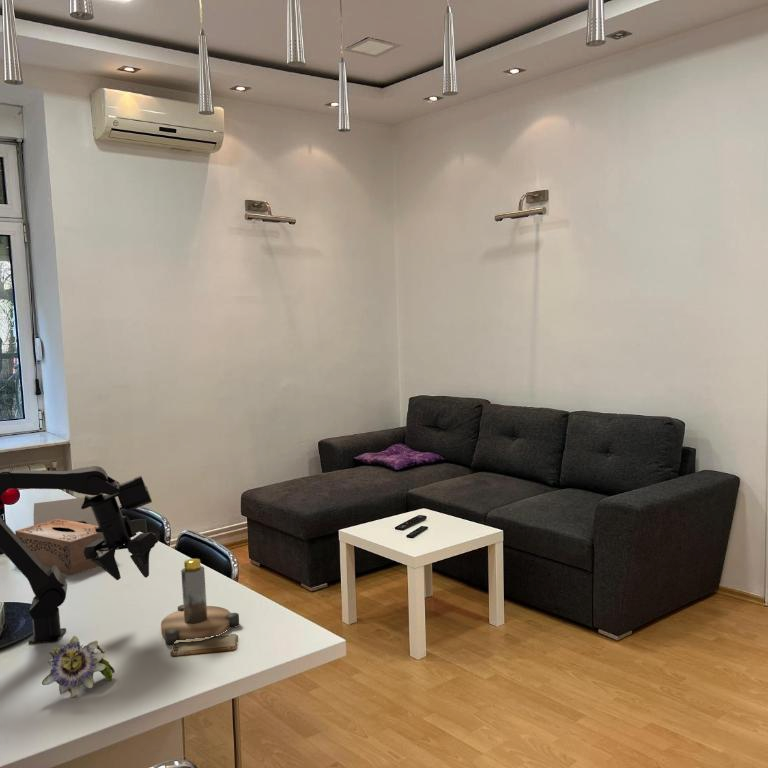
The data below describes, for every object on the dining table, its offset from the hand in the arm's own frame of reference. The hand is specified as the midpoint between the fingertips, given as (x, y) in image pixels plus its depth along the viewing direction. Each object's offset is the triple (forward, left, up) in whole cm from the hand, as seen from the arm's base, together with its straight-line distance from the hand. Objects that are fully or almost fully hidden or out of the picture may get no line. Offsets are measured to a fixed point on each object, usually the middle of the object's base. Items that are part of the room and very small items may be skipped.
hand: (132, 578), depth 184 cm
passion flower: (-30, +4, -11) cm, 32 cm away
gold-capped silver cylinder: (-5, -15, -9) cm, 18 cm away
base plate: (-5, -15, -11) cm, 19 cm away
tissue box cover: (+51, +33, -12) cm, 62 cm away
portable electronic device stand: (+77, +39, -12) cm, 87 cm away
